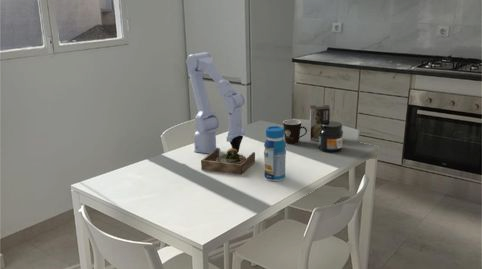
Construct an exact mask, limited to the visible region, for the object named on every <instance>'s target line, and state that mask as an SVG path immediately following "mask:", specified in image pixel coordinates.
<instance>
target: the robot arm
mask: <svg viewBox="0 0 482 269" xmlns="http://www.w3.org/2000/svg"><path fill="white" fill-rule="evenodd" d="M185 62H186V66H187V70H188V75H189V79H190V84H191V87H192V91H193V95H194V100H195V103H196V107H197V111H198V112H197V114H196V115H195V117H194V120H195V123H194V124H195V126H194V127H195V129H196V131H195V133H194V137H193V140H194V150H193V152H195V153H203V154H210V153H211V152H213V151H214V150H215V149H217V148H219V150H220V147H219V146H217V131H218V128H219V126H220V121H219V118H218V117H217V114H216V112H215V111H213V110H212V109H211V107H210V103H209V99H208V95H207V90H206V87H205V82H204V78H203V74H204V72H206V73H207V74H208V75H209V76H210V78H211V79H212V80H213V81H214V82H215V84H216V89H217V91H218V92H219V94H220V95H221V96H222V98H223V99H224V105H225V107H226V111H227V117H228V118H227V120H228V123H227V124H228V127H227V128H228V131H227V136H226V142H229V143H230V146H231V147H232V146H233V148H235V149H236V150H237V154H239V152H240V147H241V142H242V141H243V138H244V135H245V129H244V127H243V120H242V119H243V115H242V113H243V111H242V108H243V106H244V104H245V97H244V95H243V94H242V93H241V92H238V91H236V90H235V88H234V87H233V86H232V84H231V82H230V81H229V80H227V79H224V78H223V76H222V75H221V72H220V71H219V70H218V68H217V66H216V65H215V63H214V58H213V57H212V55H211V53H210V52H208V51H204V52H200V53H199V52H198V53H194V54H193V53H191V54H189V55H188V56H187V58H186V60H185Z"/></svg>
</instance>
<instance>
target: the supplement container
mask: <svg viewBox="0 0 482 269" xmlns="http://www.w3.org/2000/svg"><path fill="white" fill-rule="evenodd" d="M320 128H321V129H320V130H319V141H318V149H319V150H321V151H322V152H325V153H339V152H340V151H342V149H343V139H344V138H343V135H344V130H343V124H342V122H340V121H335V120H330V121H325V122H322V123H321V126H320Z"/></svg>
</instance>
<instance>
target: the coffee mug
mask: <svg viewBox="0 0 482 269" xmlns="http://www.w3.org/2000/svg"><path fill="white" fill-rule="evenodd" d="M282 126H283V127H282V128H284V142H285V144H287V145H297V143H298V144H299V143H300V138H302V137H305V135H306V134H307V133H308V130H307V128H306V127H305V126H302V121H301V120H299V119H286V120H283V121H282ZM301 129H304V130H305V132H304V134H302V135H301Z"/></svg>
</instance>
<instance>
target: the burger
mask: <svg viewBox="0 0 482 269" xmlns="http://www.w3.org/2000/svg"><path fill="white" fill-rule="evenodd" d="M226 151H227V152H226V154H225V153H223V154H221V155H219V157H218V158H217V162H224V163H231V164H239V165H240V164H241V163H242V162H243V161H245V160H246V159H247V158H246V157H245V156H244V155H243V154H239V153H237V150H236V149H235V148H233V146H231V148H229V149H228V150H226Z"/></svg>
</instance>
